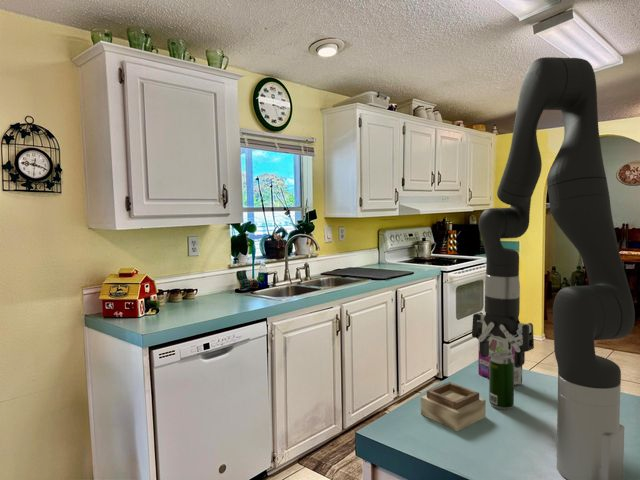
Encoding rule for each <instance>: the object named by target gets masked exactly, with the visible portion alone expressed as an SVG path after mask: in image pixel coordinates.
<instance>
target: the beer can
mask: <svg viewBox="0 0 640 480" xmlns="http://www.w3.org/2000/svg"><path fill="white" fill-rule="evenodd" d="M490 356H491V357H490V359H489V385H488V386H489V387H488V389H489V390H488V394H489V395H488V397H489V398H488V401H489V404H490V405H491V407H493V408H495V409H498V410H502V411H507V410H508V411H509V410H511V409H513V407H514V405H515V403H514V402H515V386H514V360H513V356H512V355H510V354H507V353H501V352H496V353H492V354H491V355H490Z"/></svg>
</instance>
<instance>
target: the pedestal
mask: <svg viewBox="0 0 640 480" xmlns="http://www.w3.org/2000/svg"><path fill="white" fill-rule="evenodd" d="M486 408H487V407H486V399H485V398H482V397H480V392H478V391H475V390H472V389H470V388H467V387H464V386H462V385H459V384H456V383H453V382H451V381H448V382H446V383H443V384H441V385H437V386H436V387H434V388H430V389H429V390H426V394H425V395H422V396H420V414H421V415H422V416H424V417H426V418H429V419H430V420H432V421H435V422H437V423H440V424H441V425H443V426H446V427H448V428H450V429H452V430H454V431H456V432H460V431H461V430H463V429H465V428H467V427H469V426H472V425H473V424H475V423H476V422H479V421H480V420H483V419H484V418H486V411H487V409H486Z"/></svg>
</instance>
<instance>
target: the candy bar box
mask: <svg viewBox="0 0 640 480" xmlns="http://www.w3.org/2000/svg"><path fill="white" fill-rule="evenodd" d="M486 327H487V325H486V323H485V321H484V322H483V326H482V332H483V331H484V330H485V329H486ZM517 331H518V333H519V334H520V336H521V338H522V339H523V337H522V333H521V332H520V331H521V330H520V328H519V329H518V330H517ZM513 338H515V337H514V335H513ZM487 341H489V356H488V357H485V358H484V357H481V354H480V342H479V341H478V365H477V366H478V371H477V372H478V375H480V376H482V377H484V378H487V379H489V359H490V357H491V356H490V355H491V354H492V353H496V352H501V353H507V354H510V355H512V356H513V360H514V362H515V351H516V350H515V349H514V347H513V345H512V344H511V343H509V341H508V339H507V338H506V339H504V338H501V337H500V336H493V335H491V337H490V338H489V339H488V340H487ZM521 385H523V365H522V366H521V367H519V368H517V367H515V366H514V387H517V386H521Z"/></svg>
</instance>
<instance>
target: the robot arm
mask: <svg viewBox="0 0 640 480" xmlns="http://www.w3.org/2000/svg"><path fill="white" fill-rule="evenodd" d="M519 90H520V92H519V95H518V102H517V108H516V111H515V112H516V114H515V118H514V119H515V120H514V125H513V130H512V131H513V132H512V138H511V143H510V147H509V153H508V157H507V160H506V164H505V167H504V169H503V170H504V171H503V173H502V176H501V179H500V182H499V185H498V188H497V191H496V196H497V198H498V199H499V200H500V202H501V203H503V204H505V205H508V206H510V207H492V208H487V209H484V210H483V211H482V213H481V214H480V216H479V219H478V230H479V234H480V237H481V241H482V244H483V249H484V254H485V258H486V260H485V261H486V265H485V268H486V269H485V271H486V272H485V273H486V274H485V282H484V312H485V313H484V314H483V312H475V313H474V314H473V315H472V325H471V326H472V327H471V336H472V338H474V339H477V340H478V343H479V342H480V354H481V357H484V358H485V357H488V356H489V341H487V340H488V339H489V338H490V337H491V335H493V336H500V337H501V338H504V339H506V338H507V339H508V341H509V343H511V344H512V345H513V347H514V349H515V350H516V351H515V362H514V366H515V367H517V368H519V367H521V366H522V367H523V365H524V364H525V362H526V361H525V359H526V354H525V353H526V352H530V351H531V350H533V349H535V344H534V343H535V342H534V324H533V323H532V322H528V323H524V322H523V323H522V322H521V321H520V317H519V316H520V310H521V309H520V306H521V305H520V304H521V302H520V301H521V300H520V299H521V298H520V297H521V283H520V254H519V252H518V251H517V250H515V249H512V248H509V247H508V248H507V247H504V246H503V244H502V241H501V239H517V238H520V237H522V236H523V235H525V233H526V232H527V230H528V229H529V226H530V217H531V216H530V214H531V213H530V212H531V205H532V203H531V202H532V197H533V194H534V191H535V189H536V187H537V184H538V181H539V178H540V177H541V172H542V163H543V162H542V155H541V152H540V147H539V144H538V138H537V137H538V135H537V134H538V133H537V132H538V131H537V130H538V124H539V122H540V118H541V117H542V114H543V112H544V111H561V113H562V119H563V126H564V129H563V131H564V134H563V140H562V143H561V145H560V148H559V150H558V152H557V154H556V156H555V158H554V160H553V162H552V164H551V166H550V168H549V171H548V175H547V178H546V186H547V192H548V193H547V195H548V202H549V207H550V213H551V216H552V218H553V220H554V222H555V224H556V225H557V226H558V227H559V229H560V230H561V231H562V233H563V235H565V237H566V238H567V239H568V240H569V241H570V242H571V243H572V245H573V246H574V247H575V249H576V251H577V252H578V254H579V255H580V257H581V259H582V260H583V263H584V267H585V271H586V275H587V278H588V279H587V280H588V285H573V286H571V285H570V286H566V287H562V288H561V289H560V290H559V291H558V292H557V293H556V295H555V298H554V299H553V300H554V301H553V306H552V324H553V345H554V346H553V350H554V355H555V356H554V357H555V360H556V363H557V408H556V409H557V413H556V414H557V415H556V416H557V418H556V420H557V421H556V422H557V424H556V430H557V431H556V469H557V470H558V472H559V474H560V475H561V476H562V477H563V478H565V479H567V480H624V463H625V462H624V461H625V460H624V459H625V457H624V456H625V453H624V452H625V426H624V425H623V424H621V423H620V422H621V421H620V420H621V390H622V389H621V388H622V387H621V386H622V381H621V380H622V372H621V371H622V370H621V368H620V366H619V365H618V363H617V362H614V361H613V360H610V359H609V358H606V357H604V356H600V355H596V348H595V341H604V340H607V341H608V340H617V339H622V338H623V339H624V338H625V337H628V336H629V335H630V334H631V332H632V330H633V328H634V325H635V321H636V319H635V318H636V316H635V315H636V312H635V305H634V300H633V296H632V293H631V289H630V285H629V282H628V279H627V275H626V271H625V267H624V264H623V261H622V257H621V253H620V250H619V245H618V240H617V235H616V234H617V233H616V230H615V229H616V228H615V225H614V224H615V223H614V221H613V214H612V207H611V206H612V205H611V197H610V191H609V185H608V179H607V176H606V175H607V174H606V170H605V165H604V160H603V154H602V153H603V152H602V146H601V145H602V144H601V138H600V130H599V116H598V115H599V114H598V110H599V109H598V95H597V94H598V92H597V90H598V89H597V80H596V74H595V71H594V68H593V66H592V63H590V62H589V61H588V60H587V59H584V58H579V57H555V56H553V57H549V56H548V57H546V56H545V57H539V58H537V59H535V60H534V61H533V62H531V64H530V65H529V67H528V68H527V70H526V72H525V74H524V77H523V80H522V83H521V87H520V89H519ZM484 321H485V323H486V325H487V327H486V329H485V330H484V331H483V332H482V326H483V322H484ZM519 328H520V330H521V331H520V332H521V333H522V338H521V336H520V334H519V333H518V331H517V330H518V329H519ZM513 335H514V337H515V338H513Z"/></svg>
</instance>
